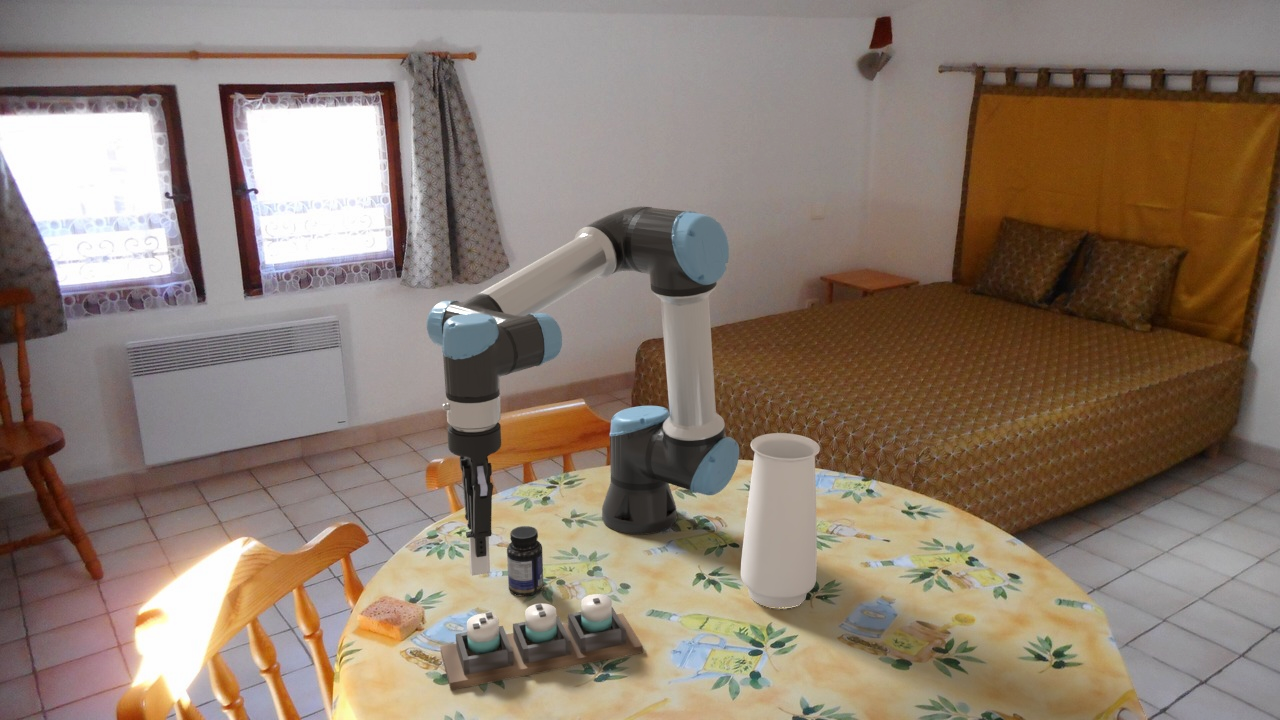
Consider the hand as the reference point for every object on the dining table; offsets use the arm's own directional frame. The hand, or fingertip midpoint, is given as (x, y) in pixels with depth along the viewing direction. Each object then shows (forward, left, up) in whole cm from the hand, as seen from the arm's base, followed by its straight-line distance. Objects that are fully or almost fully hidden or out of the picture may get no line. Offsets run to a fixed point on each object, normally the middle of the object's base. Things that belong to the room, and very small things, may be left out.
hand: (480, 571), depth 146 cm
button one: (-18, 0, -13) cm, 22 cm away
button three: (0, 0, -13) cm, 13 cm away
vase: (-52, -4, -16) cm, 55 cm away
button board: (-9, 0, -16) cm, 18 cm away
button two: (-9, 0, -13) cm, 15 cm away
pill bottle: (-11, -20, -16) cm, 28 cm away
